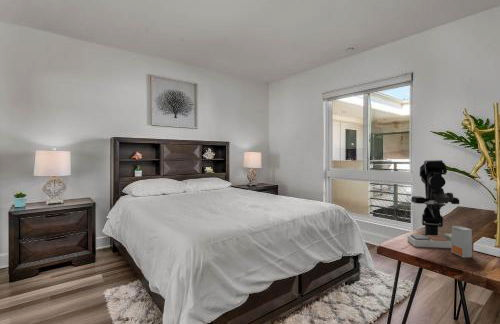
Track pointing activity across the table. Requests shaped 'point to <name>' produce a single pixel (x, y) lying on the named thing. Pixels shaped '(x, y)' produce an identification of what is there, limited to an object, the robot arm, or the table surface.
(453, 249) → the skincare box
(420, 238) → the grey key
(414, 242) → the light grey divided tray
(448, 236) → the sage key
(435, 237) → the terracotta key
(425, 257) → the table surface
